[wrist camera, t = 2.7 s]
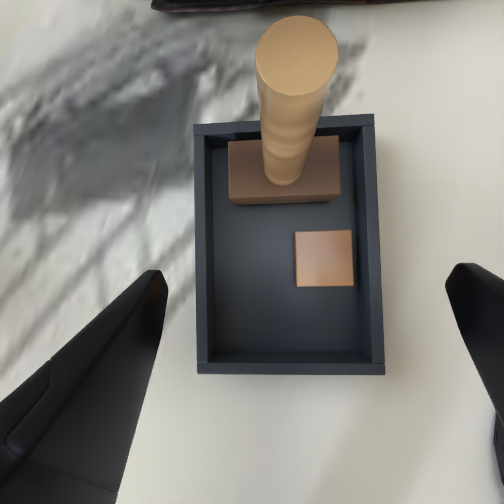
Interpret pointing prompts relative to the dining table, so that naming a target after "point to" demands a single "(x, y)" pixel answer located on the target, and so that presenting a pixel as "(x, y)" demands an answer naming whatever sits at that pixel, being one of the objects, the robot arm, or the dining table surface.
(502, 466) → the hairbrush
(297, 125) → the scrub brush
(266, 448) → the dining table surface
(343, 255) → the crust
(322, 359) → the baking tray
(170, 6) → the diary
